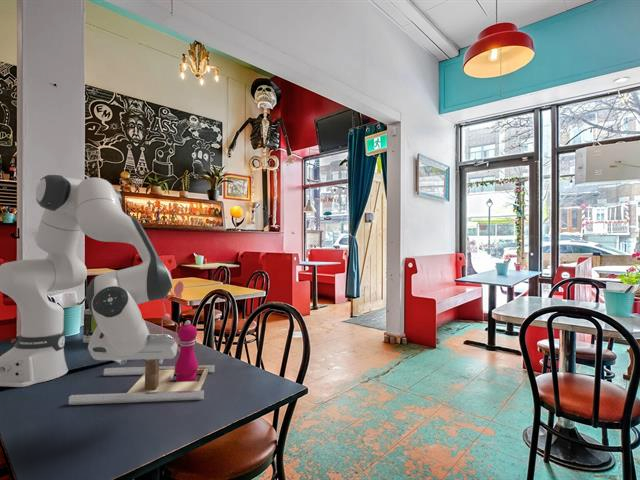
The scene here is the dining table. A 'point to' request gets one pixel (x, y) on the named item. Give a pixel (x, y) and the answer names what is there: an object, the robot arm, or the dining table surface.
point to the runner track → (138, 396)
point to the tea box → (88, 326)
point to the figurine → (177, 290)
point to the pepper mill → (186, 354)
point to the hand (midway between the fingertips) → (142, 361)
